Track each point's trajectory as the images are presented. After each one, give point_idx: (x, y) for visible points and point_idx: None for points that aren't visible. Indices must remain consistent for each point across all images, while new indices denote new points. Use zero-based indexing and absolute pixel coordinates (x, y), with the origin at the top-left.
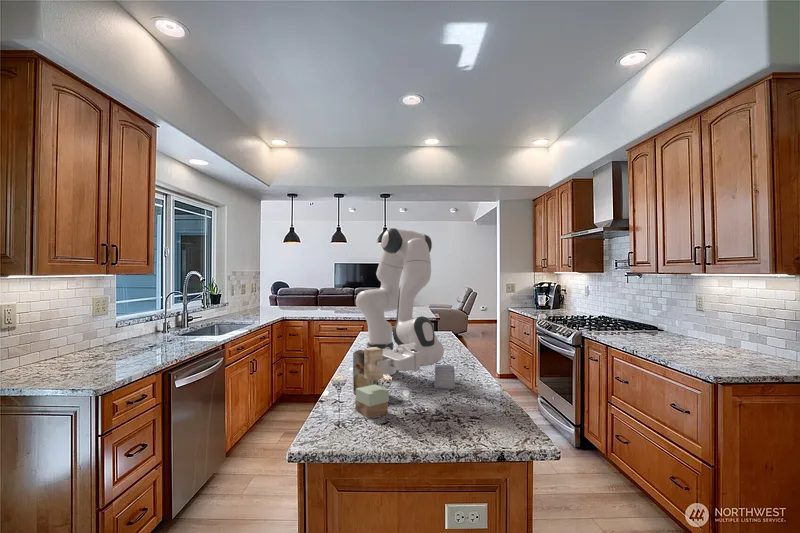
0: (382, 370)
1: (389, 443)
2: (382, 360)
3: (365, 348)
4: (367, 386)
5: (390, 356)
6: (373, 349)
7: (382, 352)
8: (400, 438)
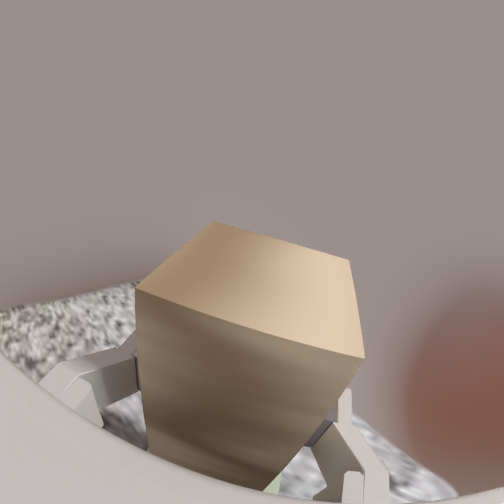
0: (150, 446)
1: (44, 330)
2: (119, 356)
3: (344, 262)
4: (270, 487)
5: (49, 417)
6: (243, 255)
7: (137, 325)
8: (25, 353)
